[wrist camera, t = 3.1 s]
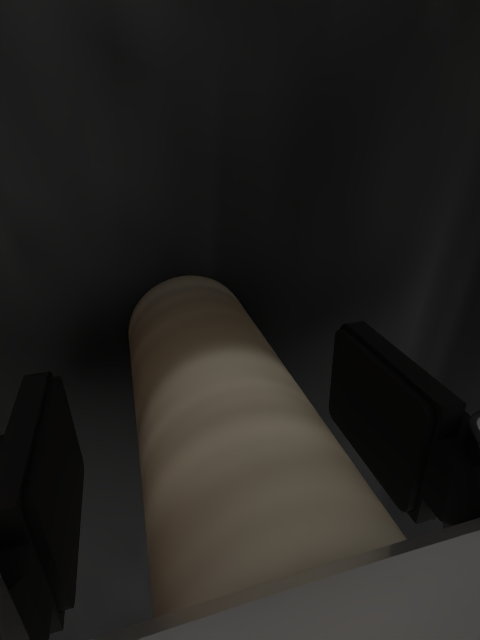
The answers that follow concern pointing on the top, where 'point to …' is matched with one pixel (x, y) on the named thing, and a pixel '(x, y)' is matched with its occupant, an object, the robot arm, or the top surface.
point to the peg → (234, 455)
